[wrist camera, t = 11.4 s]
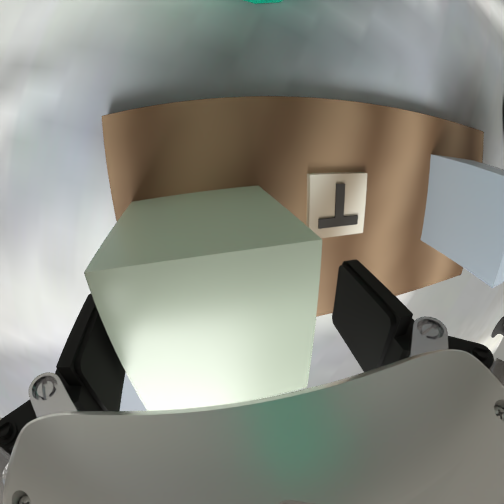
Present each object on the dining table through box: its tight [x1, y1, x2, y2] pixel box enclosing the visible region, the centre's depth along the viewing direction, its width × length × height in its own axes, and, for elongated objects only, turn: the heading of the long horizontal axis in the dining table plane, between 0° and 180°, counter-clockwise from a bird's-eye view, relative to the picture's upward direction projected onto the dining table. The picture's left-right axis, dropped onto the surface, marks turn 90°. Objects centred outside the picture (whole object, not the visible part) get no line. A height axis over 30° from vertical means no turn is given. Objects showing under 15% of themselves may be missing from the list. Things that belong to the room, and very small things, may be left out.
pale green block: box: [84, 186, 322, 411], centre depth 13 cm, size 7×7×8 cm
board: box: [102, 96, 484, 317], centre depth 18 cm, size 30×15×2 cm, turn 92°
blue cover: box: [421, 154, 504, 288], centre depth 15 cm, size 7×7×8 cm
